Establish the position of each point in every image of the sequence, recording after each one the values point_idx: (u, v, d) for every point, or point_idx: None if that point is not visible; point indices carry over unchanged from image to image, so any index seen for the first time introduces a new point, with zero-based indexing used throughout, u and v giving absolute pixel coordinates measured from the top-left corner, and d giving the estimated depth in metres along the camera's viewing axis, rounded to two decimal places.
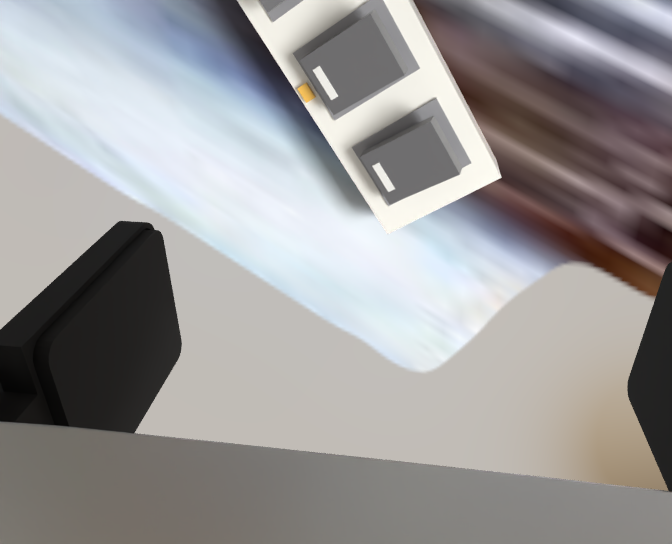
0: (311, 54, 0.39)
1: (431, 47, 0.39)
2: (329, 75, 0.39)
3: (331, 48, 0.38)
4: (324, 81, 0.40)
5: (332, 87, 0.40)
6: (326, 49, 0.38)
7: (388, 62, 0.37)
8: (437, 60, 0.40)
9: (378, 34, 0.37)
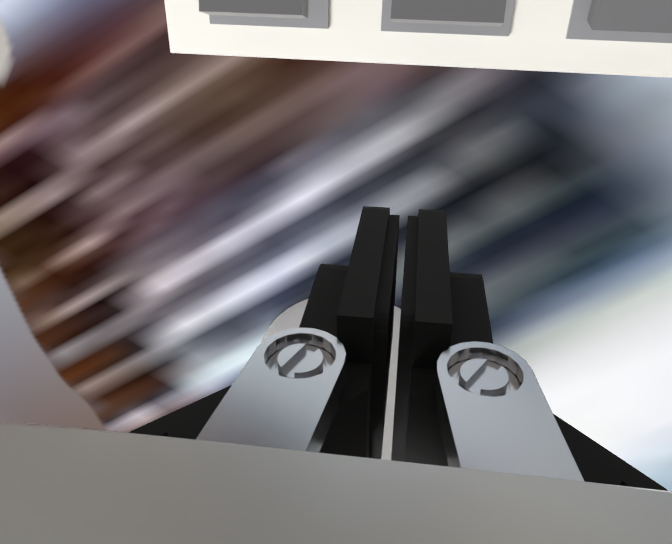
0: None
1: (396, 61, 0.26)
2: None
3: None
4: None
5: None
6: None
7: (422, 5, 0.22)
8: (375, 59, 0.26)
9: (469, 16, 0.22)
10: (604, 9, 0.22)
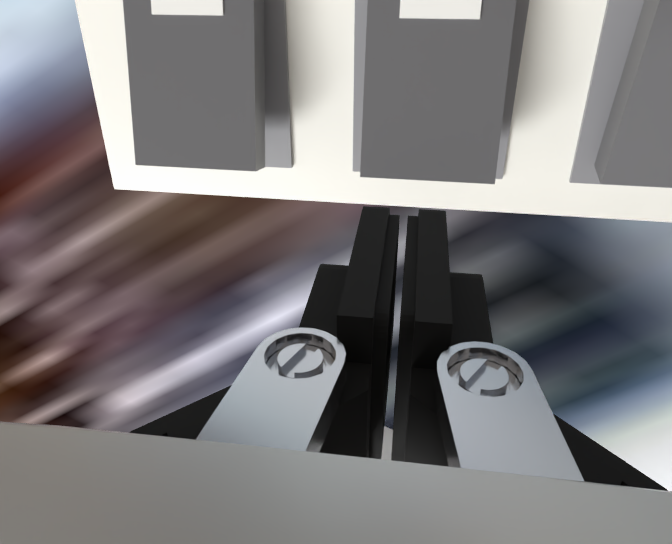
0: (510, 17, 0.17)
1: (372, 202, 0.23)
2: (449, 26, 0.17)
3: (491, 69, 0.17)
4: (443, 6, 0.17)
5: (421, 18, 0.17)
6: (495, 58, 0.17)
7: (397, 162, 0.19)
8: (348, 199, 0.23)
9: (453, 175, 0.19)
10: (615, 163, 0.19)
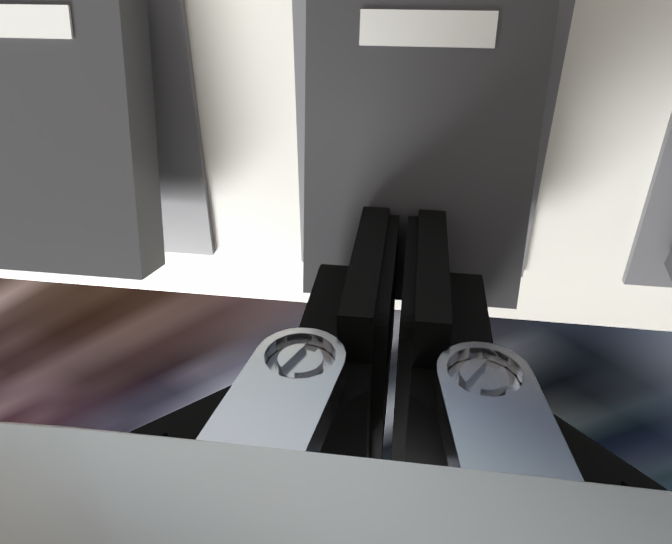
0: (547, 44, 0.10)
1: None
2: (442, 60, 0.10)
3: (513, 131, 0.10)
4: (433, 26, 0.10)
5: (396, 46, 0.10)
6: (520, 112, 0.10)
7: None
8: (298, 297, 0.16)
9: None
10: None
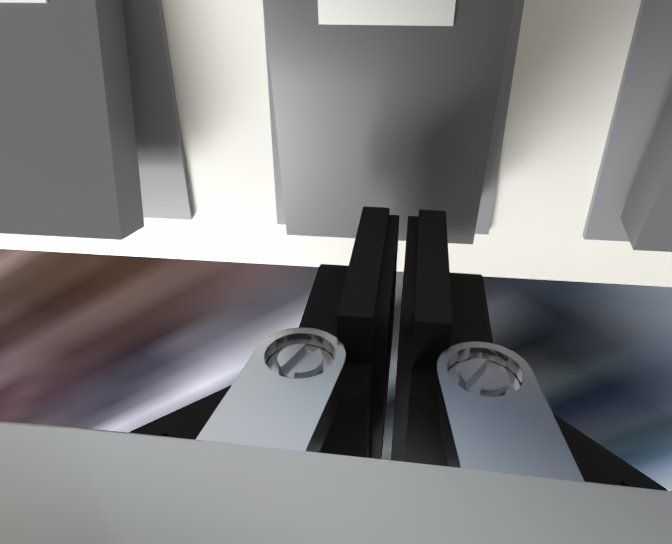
0: (504, 20, 0.10)
1: (308, 263, 0.16)
2: (401, 36, 0.10)
3: (471, 101, 0.11)
4: (392, 2, 0.10)
5: (355, 24, 0.10)
6: (478, 84, 0.11)
7: (337, 219, 0.13)
8: (274, 259, 0.16)
9: None
10: (657, 223, 0.12)
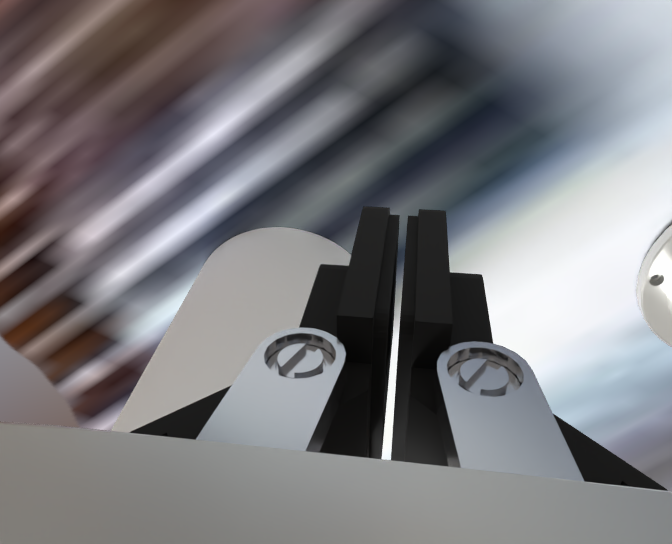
0: None
1: None
2: None
3: None
4: None
5: None
6: None
7: None
8: None
9: None
10: None
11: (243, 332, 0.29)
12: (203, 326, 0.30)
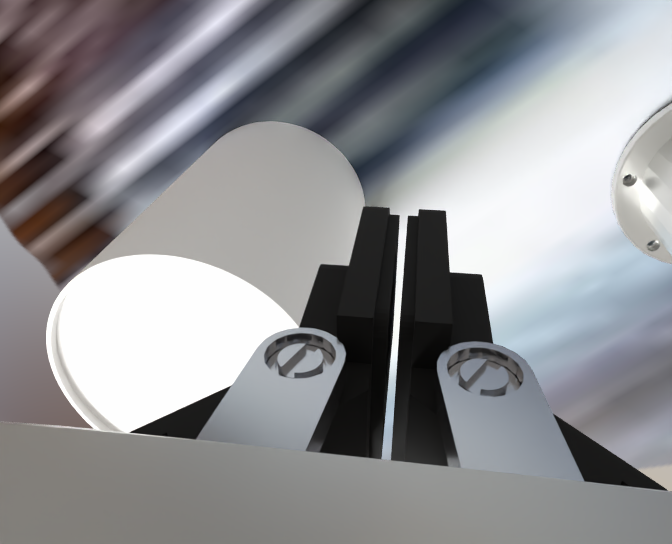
0: None
1: None
2: None
3: None
4: None
5: None
6: None
7: None
8: None
9: None
10: None
11: (229, 179, 0.31)
12: (193, 178, 0.32)
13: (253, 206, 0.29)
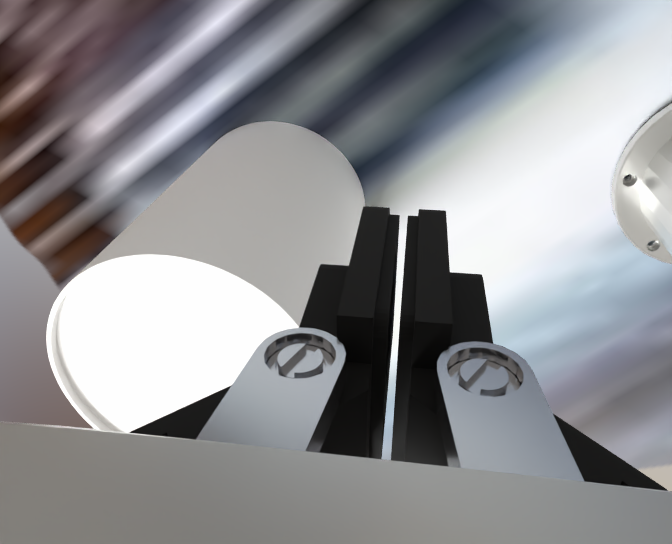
0: None
1: None
2: None
3: None
4: None
5: None
6: None
7: None
8: None
9: None
10: None
11: (229, 179, 0.31)
12: (193, 178, 0.32)
13: (253, 206, 0.29)
